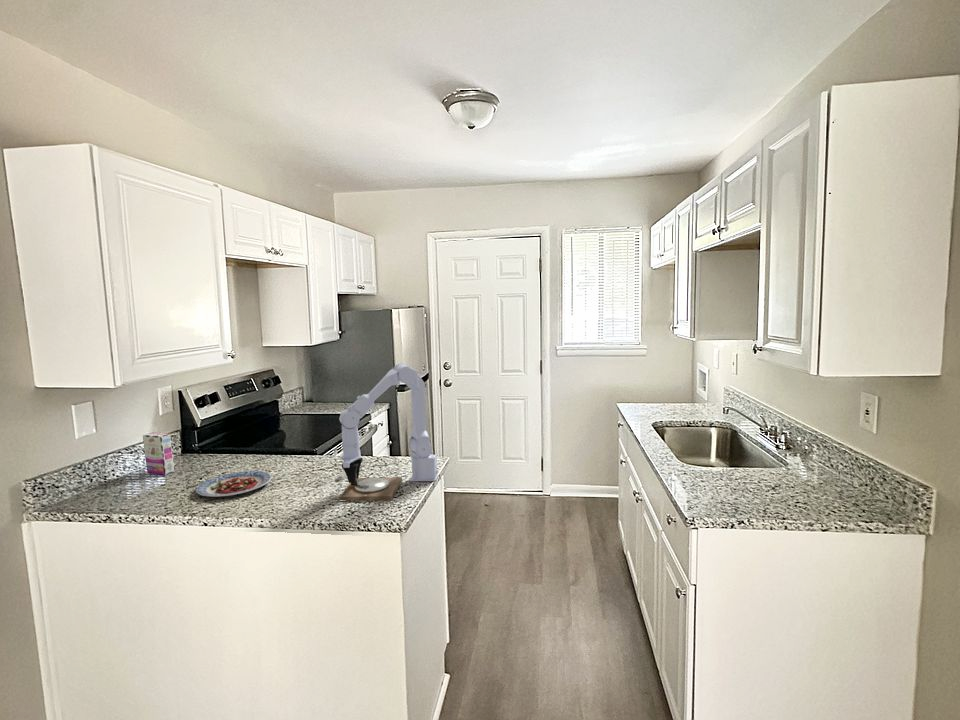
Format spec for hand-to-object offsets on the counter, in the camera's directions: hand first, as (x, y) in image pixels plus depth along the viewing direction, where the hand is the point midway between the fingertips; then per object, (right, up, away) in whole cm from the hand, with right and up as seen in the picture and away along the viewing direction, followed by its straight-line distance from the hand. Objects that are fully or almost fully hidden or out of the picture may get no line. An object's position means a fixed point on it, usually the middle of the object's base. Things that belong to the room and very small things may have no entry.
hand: (353, 480), depth 188 cm
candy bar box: (-88, -4, +31) cm, 93 cm away
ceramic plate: (-47, -5, +9) cm, 48 cm away
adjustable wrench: (-8, -2, +24) cm, 26 cm away
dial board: (+7, -4, 0) cm, 8 cm away
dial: (+7, -2, 0) cm, 7 cm away
